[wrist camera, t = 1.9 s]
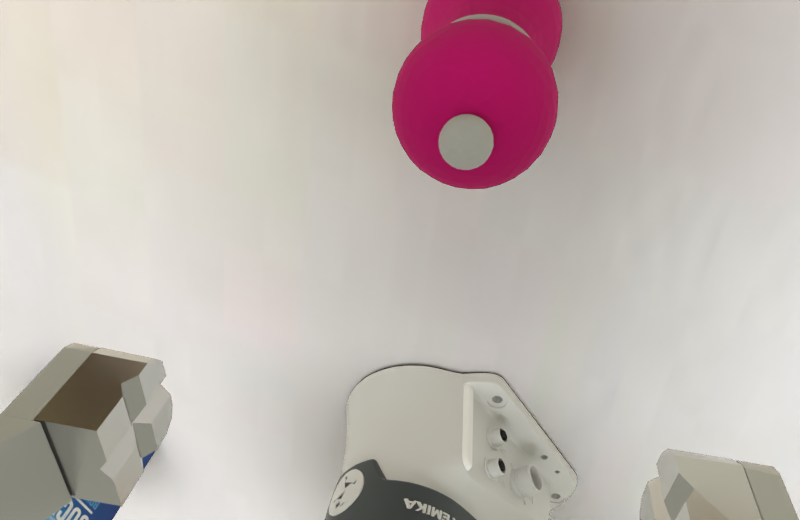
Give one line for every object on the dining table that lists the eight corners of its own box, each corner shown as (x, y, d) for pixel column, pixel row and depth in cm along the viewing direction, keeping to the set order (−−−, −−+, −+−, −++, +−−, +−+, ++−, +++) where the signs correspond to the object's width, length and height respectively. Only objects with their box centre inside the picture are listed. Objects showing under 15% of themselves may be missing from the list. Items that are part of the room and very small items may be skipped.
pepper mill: (456, -76, 33) (384, -5, 17) (581, -31, 33) (630, 83, 17) (417, 52, 37) (328, 209, 21) (528, 91, 37) (526, 278, 21)
